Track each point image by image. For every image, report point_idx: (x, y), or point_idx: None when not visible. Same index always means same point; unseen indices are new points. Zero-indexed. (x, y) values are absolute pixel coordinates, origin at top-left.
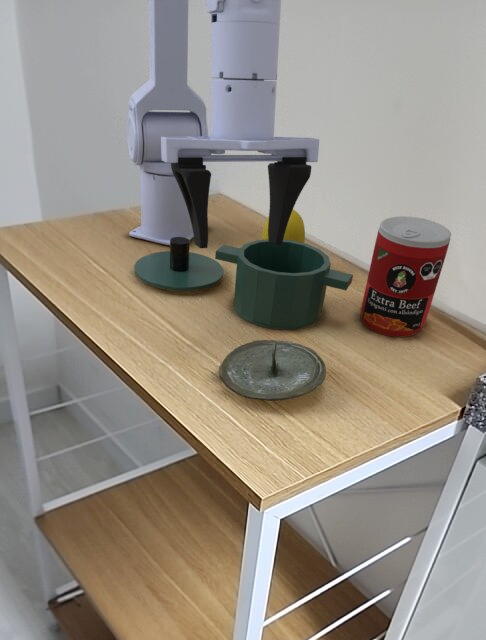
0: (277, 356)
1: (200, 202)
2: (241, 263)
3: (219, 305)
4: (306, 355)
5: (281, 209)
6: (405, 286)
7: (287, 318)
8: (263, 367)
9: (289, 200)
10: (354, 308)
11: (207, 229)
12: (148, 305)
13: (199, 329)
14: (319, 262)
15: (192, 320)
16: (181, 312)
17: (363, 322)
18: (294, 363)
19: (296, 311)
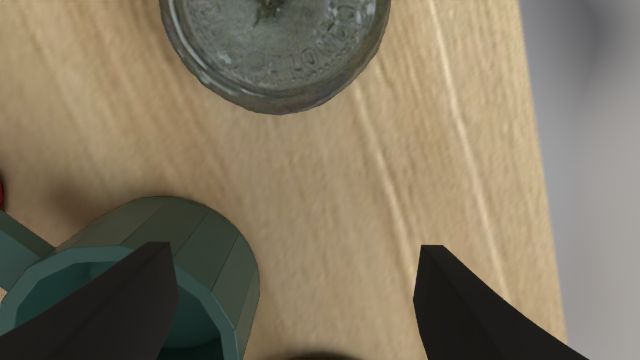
0: (247, 48)
1: (533, 346)
2: (239, 343)
3: (282, 310)
4: (187, 11)
5: (98, 322)
6: None
7: (171, 205)
8: (288, 23)
9: (34, 340)
10: None
11: (445, 274)
12: (416, 330)
13: (351, 230)
14: None
15: (353, 265)
16: (364, 297)
17: (1, 192)
18: (220, 6)
19: (146, 209)
